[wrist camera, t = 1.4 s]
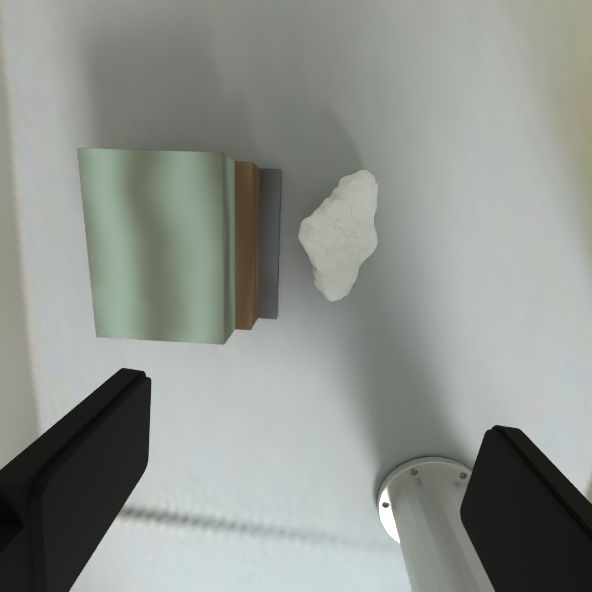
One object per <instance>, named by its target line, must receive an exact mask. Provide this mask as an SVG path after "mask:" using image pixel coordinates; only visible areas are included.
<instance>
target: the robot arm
mask: <svg viewBox="0 0 592 592" xmlns="http://www.w3.org/2000/svg"><path fill="white" fill-rule="evenodd" d="M150 404H151V378H149V377H146V374H145V372H144V371H140V370H133V369H127V368H122V369H120V370H119V371H118V372H116V373H115V374H114V375H113V376H112V377H110V378H109V379H108V380H107V381H106V382H104V383H103V384H102V385H101V386H100V387H99V388H97V389H96V390H95V391H94V392H93V393H91V394H90V395H89V396H88V397H87V398H85V399H84V400H83V401H82V402H81V403H80V404H78V405H77V406H76V407H75V408H74V409H72V410H71V411H70V412H69V413H68V414H66V415H65V416H64V417H63V418H62V419H60V420H59V421H58V422H57V423H56V424H55V425H53V426H52V427H51V428H50V429H49V430H47V431H46V432H45V433H44V434H43V435H41V436H40V437H39V438H38V439H37V440H36V441H34V442H33V443H32V444H31V445H30V446H28V447H27V448H26V449H25V450H24V451H22V452H21V453H20V454H19V455H18V456H16V457H15V458H14V459H13V460H12V461H11V462H9V463H8V464H7V465H6V466H5V467H3V468H2V469H1V470H0V592H69V591H70V589H71V587H72V586H73V584H74V583H75V581H76V579H77V578H78V576H79V575H80V573H81V572H82V570H83V568H84V567H85V565H86V564H87V562H88V560H89V559H90V557H91V556H92V554H93V553H94V551H95V549H96V548H97V546H98V545H99V543H100V542H101V540H102V538H103V537H104V535H105V534H106V532H107V530H108V529H109V527H110V526H111V524H112V523H113V521H114V519H115V518H116V516H117V515H118V513H119V511H120V510H121V508H122V507H123V505H124V504H125V502H126V500H127V499H128V497H129V496H130V494H131V493H132V491H133V489H134V488H135V486H136V485H137V483H138V481H139V480H140V478H141V477H142V475H143V473H144V472H145V469H146V467H147V463H148V455H149V429H150ZM377 506H378V512H379V517H380V520H381V522H382V525H383V527H384V528H385V530H386V531H387V532H388V534H389V535H391V536H392V537H393V538H394V539H395V540H396V541H398V542H399V543H400V546H401V550H402V553H403V557H404V561H405V565H406V569H407V573H408V577H409V580H410V584H411V588H412V592H592V504H591V503H590V502H589V501H588V500H587V499H586V498H585V497H584V496H583V495H582V494H581V493H580V492H579V491H578V489H577V488H576V487H575V486H574V485H573V484H572V483H571V482H570V481H569V480H568V479H567V478H566V477H565V476H564V475H563V474H562V473H561V472H560V471H559V469H558V468H557V467H556V466H555V465H554V464H553V463H552V462H551V461H550V460H549V459H548V458H547V457H546V456H545V455H544V454H543V453H542V452H541V451H540V449H539V448H538V447H537V446H536V445H535V444H534V443H533V442H532V441H531V440H530V439H529V438H528V437H527V436H526V435H525V434H524V433H523V432H522V431H521V430H520V429H517V428H512V427H505V426H499V425H496V426H494V427H493V428H492V429H491V430H487V431H486V433H485V435H484V438H483V441H482V444H481V447H480V450H479V453H478V456H477V459H476V462H475V465H474V468H473V471H471V470H470V469H469V468H467V467H466V466H464V465H463V464H461V463H459V462H457V461H454V460H451V459H447V458H443V457H423V458H418V459H414V460H411V461H409V462H406V463H404V464H402V465H400V466H399V467H397V468H396V469H394V470H393V471H392V472H391V473H390V474H389V475H388V476H387V477H386V479H385V480H384V482H383V483H382V485H381V487H380V490H379V492H378V498H377Z"/></svg>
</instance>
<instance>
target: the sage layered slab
mask: <svg viewBox="0 0 592 592" xmlns="http://www.w3.org/2000/svg"><path fill="white" fill-rule="evenodd" d="M77 150H78V160H79V170H80V180H81V190H82V200H83V210H84V220H85V230H86V240H87V250H88V259H89V269H90V279H91V289H92V299H93V309H94V319H95V329H96V337H103V338H120V339H137V340H155V341H172V342H189V343H207V344H225V342H226V341H227V340H228V338H229V337H230V336H231V334H232V333H233V331H234V330H235V329H240V330H251V329H252V327H253V325H254V324H255V322H256V320H257V319H258V318H267V319H277V313H278V276H279V238H280V201H281V169H260V168H258V167H257V166H256V165H255V164H254V163H253V162H237V161H233V160H232V159H231V158H229V157H228V156H226V155H225V154H223V153H222V152H191V151H157V150H124V149H91V148H77Z"/></svg>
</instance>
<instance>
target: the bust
mask: <svg viewBox="0 0 592 592" xmlns="http://www.w3.org/2000/svg"><path fill="white" fill-rule="evenodd" d="M377 195H378V183H377V181H376V180H375V178H374V175H373V174H371V173H369V172H368V171H367V170H365V169H363V170H360V171H358V172H356V173H354V174H352V175H347V176H344V177H343V178H342V179H341V180H340V181H339V184H338V187H337V188H335V189H334V190H333V191H332V193H331V195H330V197H328V198H326V199H324V201H323V202H322V204H321V205H320V207H318V208H317V209H316V210H315V211H314V212H313V214H312V215H310V216H309V217H307V218H305V219H304V220H303V221H302V222H301V226H300V228H299V234H298V238H299V241H300V243H301V244H302V246H303V247H304V250H305V251H306V253H307V255H308V256H309V261H310V263H311V264H312V265H313V275H314V276H315V280H314V284H315V286H316V288H317V289H318V290H320V291H321V292H322V293H323V295H324V296H325V298H326V299H327V300H329V301H335V300H341V299H342V297H344V296H346V295H348V293H349V292H350V290H351V288H352V285H353V284H354V283H355V281H356V279H357V276H358V272H359V268H360V266H361V264H362V263H363V262H364V260H365V259H367V258H368V257H369V256H370V255H371V254H372V253H373V252H374V250H375V249H376V246H377V243H378V237H377V232H376V230H375V227H374V214H375V211H376V209H377Z"/></svg>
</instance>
